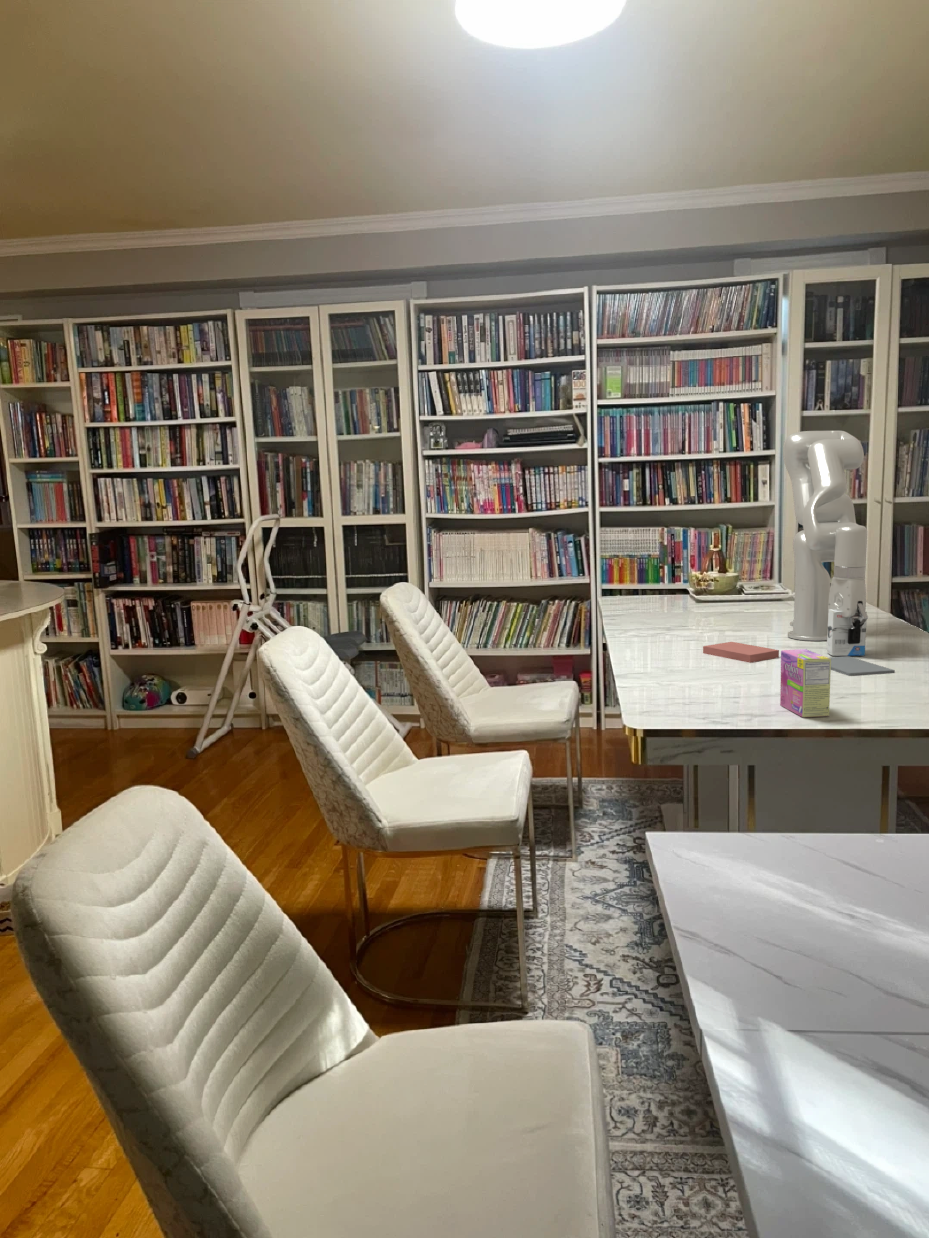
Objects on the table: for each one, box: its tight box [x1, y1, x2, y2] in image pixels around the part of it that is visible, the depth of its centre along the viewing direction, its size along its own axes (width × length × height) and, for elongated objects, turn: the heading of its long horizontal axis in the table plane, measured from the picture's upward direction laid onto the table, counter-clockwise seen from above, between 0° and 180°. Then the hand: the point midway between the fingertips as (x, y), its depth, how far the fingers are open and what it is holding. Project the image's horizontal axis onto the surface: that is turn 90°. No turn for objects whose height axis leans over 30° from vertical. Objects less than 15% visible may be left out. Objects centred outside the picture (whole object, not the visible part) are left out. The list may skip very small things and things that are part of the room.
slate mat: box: [828, 656, 896, 677], centre depth 223 cm, size 18×12×1 cm, turn 11°
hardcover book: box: [702, 641, 780, 664], centre depth 239 cm, size 16×11×2 cm
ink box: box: [826, 609, 868, 657], centre depth 236 cm, size 8×5×12 cm, turn 84°
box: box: [779, 648, 832, 718], centre depth 181 cm, size 10×6×12 cm, turn 5°
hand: (845, 640), depth 237 cm, fingers closed on ink box, 6 cm apart
